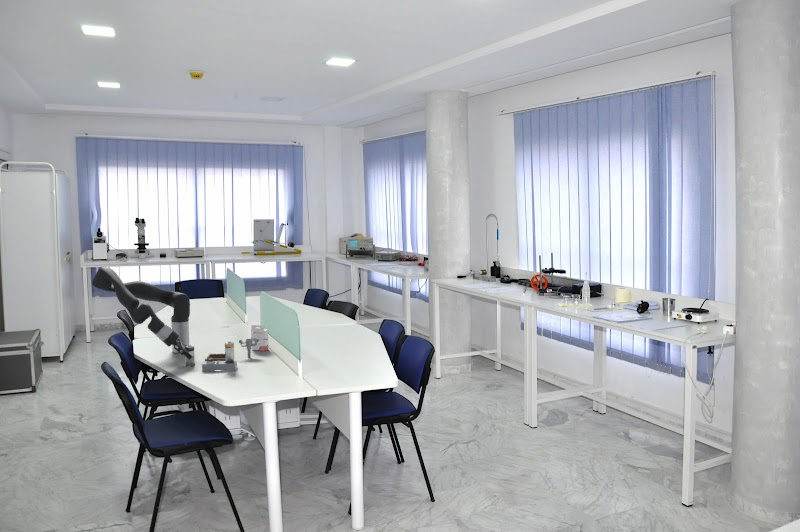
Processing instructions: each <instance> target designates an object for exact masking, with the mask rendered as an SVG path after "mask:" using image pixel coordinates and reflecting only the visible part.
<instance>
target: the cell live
mask: <svg viewBox="0 0 800 532" xmlns="http://www.w3.org/2000/svg"><path fill="white" fill-rule="evenodd" d="M224 354H225V363H234V361H235V342H234V341H226V342H224Z"/></svg>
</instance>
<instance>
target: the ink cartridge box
mask: <svg viewBox="0 0 800 532" xmlns="http://www.w3.org/2000/svg"><path fill="white" fill-rule="evenodd" d="M250 337H251V338H257V339H259V342H257V345H256V346H251V351H253V350H259V351H258V352H265V351H268V350H269V329H265V325H259V324H256V325H255V324H251V330H250ZM251 338H250V339H251ZM252 343H254V341H252Z"/></svg>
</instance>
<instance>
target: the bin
mask: <svg viewBox="0 0 800 532" xmlns="http://www.w3.org/2000/svg"><path fill="white" fill-rule="evenodd" d="M208 358H214V361H225V353H208V355H207V356H206V357H205V358H204V361H207V360H206V359H208Z"/></svg>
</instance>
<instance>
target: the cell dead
mask: <svg viewBox="0 0 800 532" xmlns="http://www.w3.org/2000/svg"><path fill="white" fill-rule="evenodd" d="M185 350H186V351H187V352H188V353H189V354H190V355H192V358H191V359H188V358H187V357H186V356H184V357H185V367H188V366H190V367H194V366H195V365H196V364H195V363H196V362H195V345H191V344H189V345H188V346H185Z"/></svg>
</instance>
